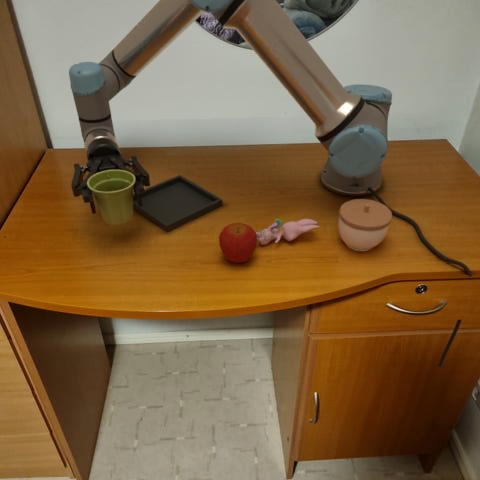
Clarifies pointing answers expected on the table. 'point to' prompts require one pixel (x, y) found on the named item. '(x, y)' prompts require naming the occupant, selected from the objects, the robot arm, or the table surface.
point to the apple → (238, 242)
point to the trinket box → (363, 223)
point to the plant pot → (113, 195)
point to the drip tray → (175, 203)
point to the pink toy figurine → (285, 230)
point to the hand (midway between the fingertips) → (116, 203)
